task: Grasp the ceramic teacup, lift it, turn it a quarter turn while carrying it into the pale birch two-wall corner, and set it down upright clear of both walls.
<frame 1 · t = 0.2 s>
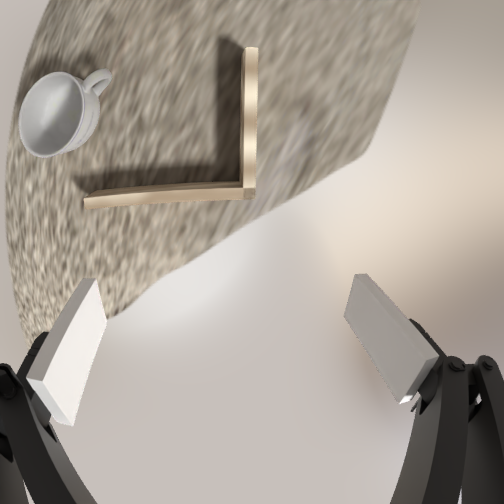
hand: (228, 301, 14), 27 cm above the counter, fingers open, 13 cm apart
teacup: (83, 109, 30), on the counter
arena: (163, 125, 33), on the counter
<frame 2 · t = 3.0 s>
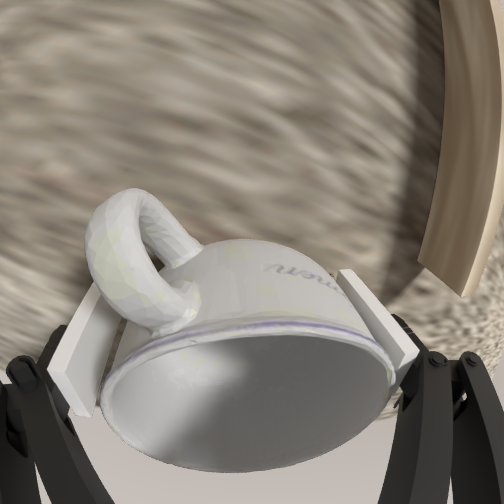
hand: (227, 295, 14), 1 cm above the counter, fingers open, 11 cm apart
teacup: (223, 284, 15), on the counter, touching gripper
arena: (321, 54, 10), on the counter
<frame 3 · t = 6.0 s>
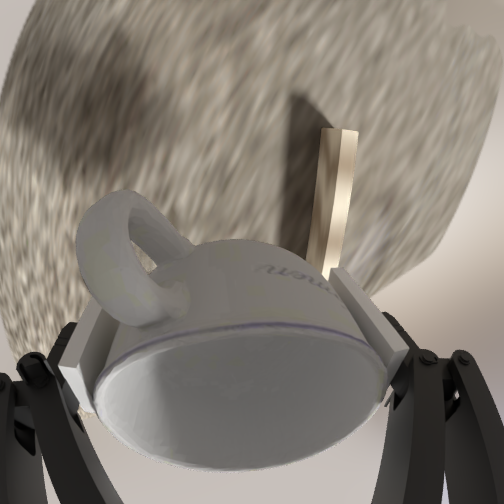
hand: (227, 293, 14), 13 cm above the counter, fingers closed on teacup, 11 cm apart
teacup: (217, 284, 15), point 13 cm above the counter, touching gripper
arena: (207, 223, 27), on the counter
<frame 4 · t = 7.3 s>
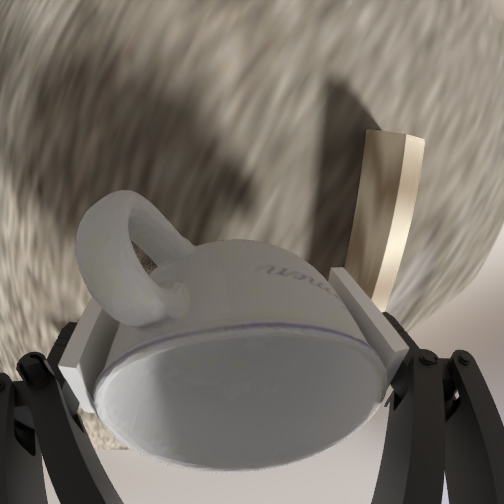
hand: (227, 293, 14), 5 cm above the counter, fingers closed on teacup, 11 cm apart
teacup: (217, 285, 15), point 4 cm above the counter, touching gripper
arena: (207, 261, 19), on the counter
when the fingers open (2 cm above the counter, at t = 8.6 s): teacup drops 1 cm, on the counter.
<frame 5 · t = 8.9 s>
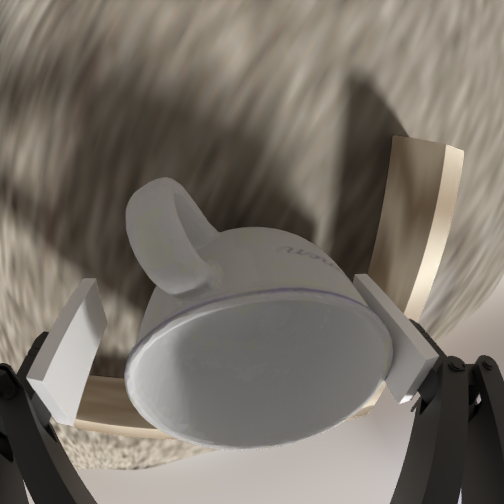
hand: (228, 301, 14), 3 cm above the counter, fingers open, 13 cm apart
teacup: (234, 271, 16), on the counter
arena: (207, 290, 16), on the counter
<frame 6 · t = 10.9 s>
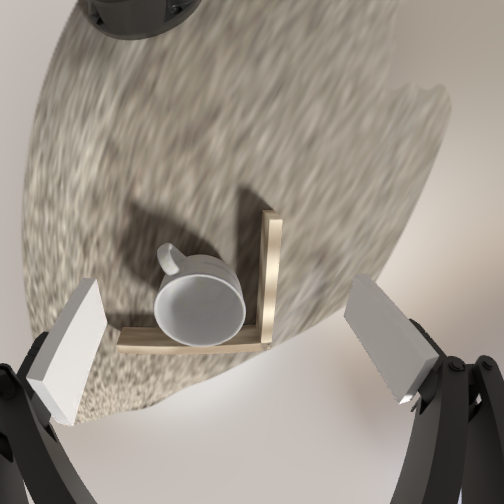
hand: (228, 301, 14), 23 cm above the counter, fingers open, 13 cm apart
teacup: (196, 271, 38), on the counter
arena: (185, 279, 38), on the counter
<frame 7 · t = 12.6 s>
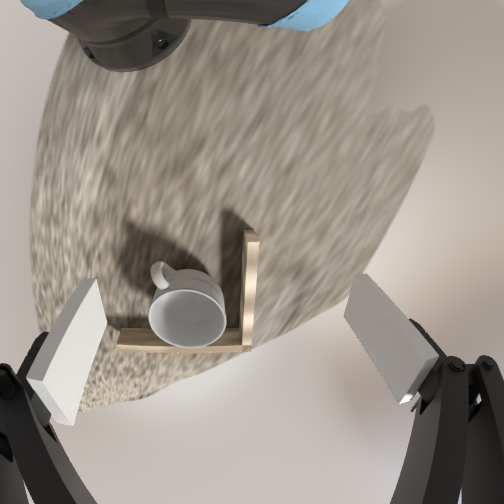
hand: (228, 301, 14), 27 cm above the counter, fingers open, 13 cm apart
teacup: (185, 282, 43), on the counter
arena: (176, 288, 43), on the counter
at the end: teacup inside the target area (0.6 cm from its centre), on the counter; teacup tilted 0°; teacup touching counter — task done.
